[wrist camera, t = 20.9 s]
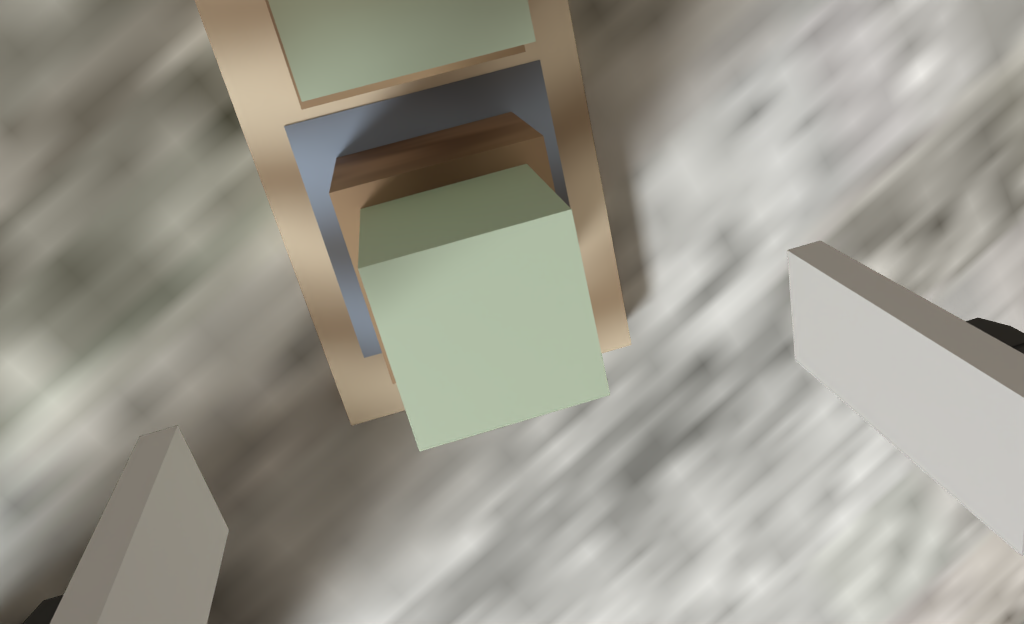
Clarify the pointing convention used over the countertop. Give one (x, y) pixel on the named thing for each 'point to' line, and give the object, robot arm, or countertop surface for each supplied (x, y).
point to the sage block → (481, 304)
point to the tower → (390, 41)
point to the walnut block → (429, 171)
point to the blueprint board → (388, 119)
